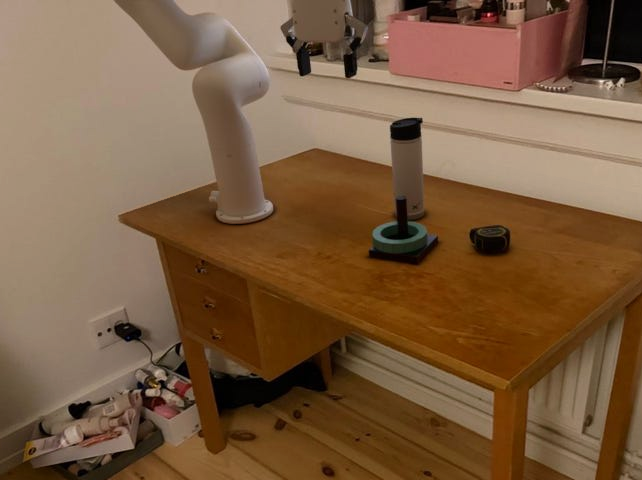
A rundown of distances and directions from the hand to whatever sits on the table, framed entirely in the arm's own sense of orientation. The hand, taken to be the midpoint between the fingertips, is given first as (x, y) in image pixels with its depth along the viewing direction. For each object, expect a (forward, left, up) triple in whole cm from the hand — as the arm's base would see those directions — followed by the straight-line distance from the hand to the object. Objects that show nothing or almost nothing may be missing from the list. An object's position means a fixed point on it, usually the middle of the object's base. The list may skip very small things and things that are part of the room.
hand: (328, 75), depth 128 cm
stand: (+16, -5, -30) cm, 35 cm away
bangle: (+15, -5, -29) cm, 33 cm away
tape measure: (+31, +1, -30) cm, 43 cm away
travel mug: (+10, +11, -30) cm, 34 cm away
